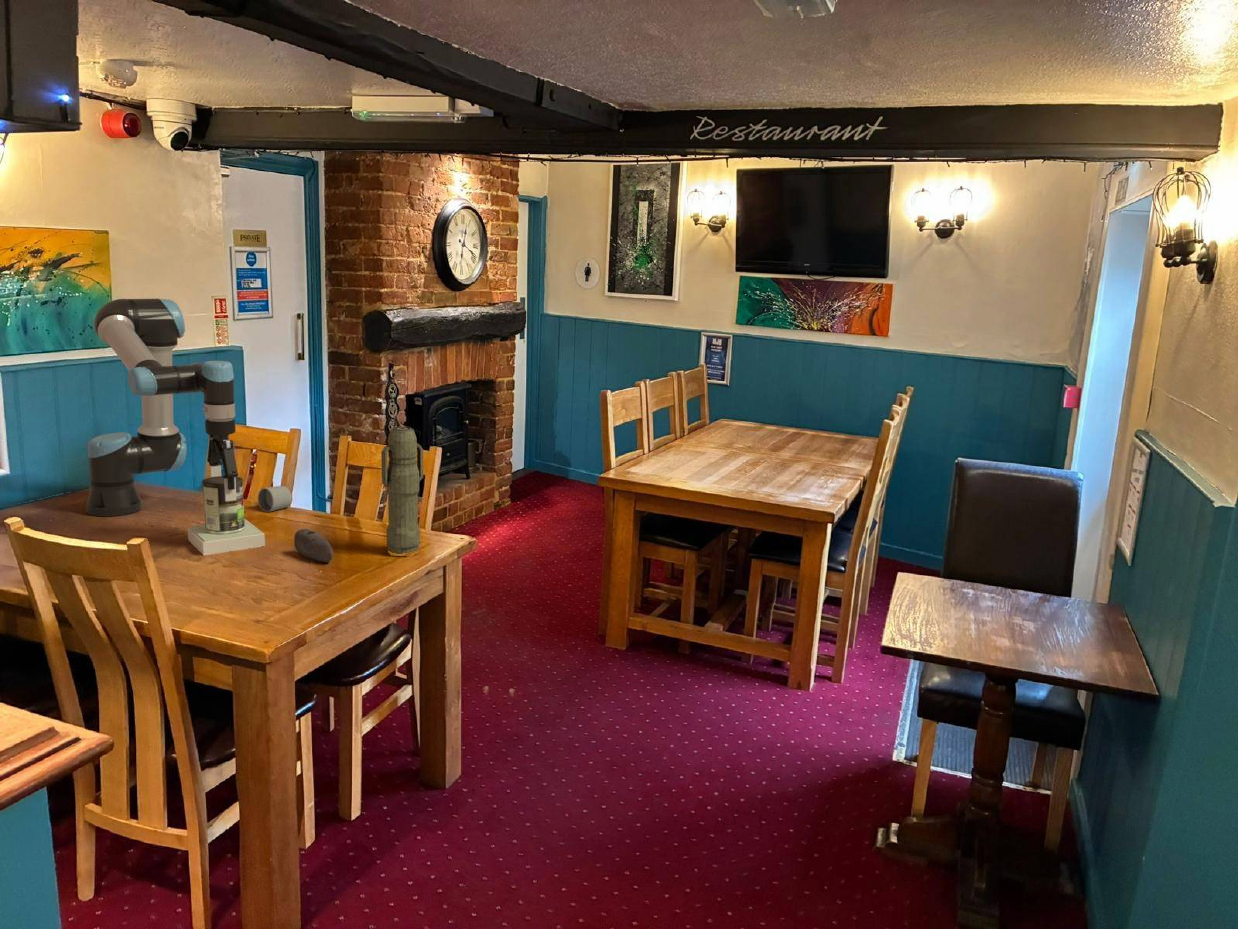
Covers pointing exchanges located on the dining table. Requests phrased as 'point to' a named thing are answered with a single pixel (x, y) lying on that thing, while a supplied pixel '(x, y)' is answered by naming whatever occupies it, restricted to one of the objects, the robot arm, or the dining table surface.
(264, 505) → the grey cylinder
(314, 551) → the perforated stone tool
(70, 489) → the dining table surface
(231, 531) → the coffee can
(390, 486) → the thermos
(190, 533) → the plinth
